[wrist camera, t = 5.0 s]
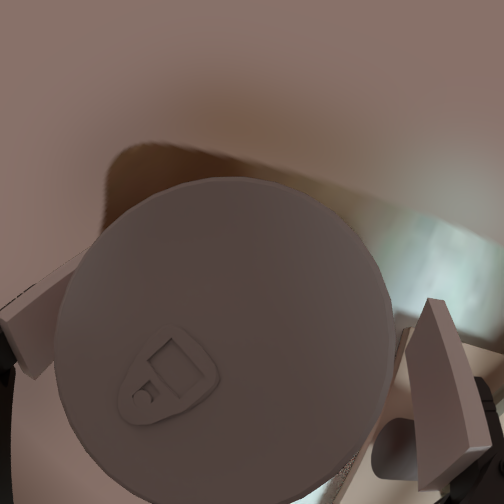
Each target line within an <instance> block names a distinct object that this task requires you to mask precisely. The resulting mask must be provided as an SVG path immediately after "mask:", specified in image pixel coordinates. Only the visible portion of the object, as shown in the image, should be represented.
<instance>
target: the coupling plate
mask: <svg viewBox="0 0 504 504" xmlns="http://www.w3.org/2000/svg"><path fill="white" fill-rule="evenodd" d="M414 329H415V328H413V327H409V328H406V329H403V333H402V337H401V340H400V343H399V347H398V350H397V353H396V357H395V360H394V370H393V377H392V381H391V384H390V387H389V391H388V394H387V397H386V400H385V403H384V406H383V409H382V412H381V414H380V416H379V418H378V420H377V422H376V423H375V425H374V427H373V429H372V430H371V432H370V434H369V435H368V437H367V439H366V441H365V442H364V444H363V445H362V447H361V448H360V450H359V453H358V455H357V457H356V459H355V461H354V463H353V465H352V467H351V469H350V471H349V473H348V475H347V477H346V479H345V481H344V483H343V485H342V487H341V489H340V490H339V492H338V494H337V496H336V498H335V499H334V501H333V503H332V504H434V503H435V502H436V501H438V500H439V499H440V498H442V497H443V496H445V495H446V494H447V493H449V492H450V483H449V484H448V485H446V486H445V487H444V488H442V489H441V490H440V491H432V492H418V467H417V448H416V435H415V423H414V414H413V405H412V396H411V389H410V382H409V375H408V368H407V362H406V356H405V349H406V347H407V345H408V343H409V340H410V338H411V336H412V334H413V332H414ZM461 343H462V342H461ZM462 345H463V348H464V351H465V353H466V356H467V359H468V362H469V364H470V367H471V370H472V373H473V376H477V377H482V378H483V379H484V381H485V382H486V384H487V385H488V386H489V388H490V390H491V393H492V396H493V402H494V403H495V406H496V409H497V410H496V412H497V413H498V416H499V420H500V423H501V427H502V431H503V434H504V355H503V354H500V353H496V352H493V351H489V350H486V349H482V348H479V347H476V346H472V345H469V344H466V343H462ZM439 504H440V503H439Z"/></svg>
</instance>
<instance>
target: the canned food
mask: <svg viewBox="0 0 504 504" xmlns="http://www.w3.org/2000/svg"><path fill="white" fill-rule="evenodd" d="M395 346H396V333H395V325H394V318H393V311H392V304H391V299H390V296H389V294H388V291H387V288H386V285H385V283H384V280H383V277H382V275H381V272H380V270H379V267H378V265H377V263H376V262H375V260H374V259H373V257H372V256H371V254H370V252H369V251H368V249H367V248H366V246H365V245H364V243H363V242H362V240H361V239H360V237H359V236H358V235H357V234H356V233H355V232H354V231H353V230H352V229H351V228H350V227H349V226H348V225H347V224H346V223H345V222H344V221H343V220H342V219H341V218H340V217H339V216H338V215H337V214H336V213H335V212H334V211H332V210H331V209H329V208H327V207H326V206H324V205H323V204H321V203H320V202H318V201H317V200H315V199H314V198H312V197H310V196H309V195H307V194H305V193H303V192H300V191H298V190H295V189H292V188H290V187H287V186H285V185H282V184H279V183H277V182H272V181H266V180H261V179H255V178H249V177H211V178H206V179H201V180H196V181H191V182H186V183H182V184H179V185H177V186H174V187H171V188H169V189H166V190H164V191H161V192H159V193H156V194H154V195H152V196H150V197H149V198H147V199H145V200H144V201H142V202H140V203H139V204H137V205H135V206H134V207H132V208H130V209H129V210H127V211H126V212H125V213H124V214H122V215H121V216H120V217H119V218H118V219H117V220H115V221H114V222H113V223H112V224H111V225H110V226H109V227H107V228H106V229H105V230H104V231H103V232H102V234H101V235H100V236H99V237H98V238H97V240H96V241H95V242H94V243H93V244H92V246H91V247H90V248H89V249H88V251H87V252H86V253H85V255H84V256H83V258H82V260H81V261H80V263H79V265H78V267H77V268H76V270H75V272H74V274H73V275H72V277H71V279H70V281H69V284H68V286H67V289H66V292H65V294H64V297H63V300H62V303H61V306H60V309H59V314H58V319H57V325H56V331H55V337H54V368H55V374H56V380H57V386H58V391H59V396H60V400H61V402H62V405H63V408H64V411H65V413H66V416H67V418H68V421H69V424H70V426H71V427H72V429H73V431H74V433H75V434H76V436H77V438H78V439H79V441H80V443H81V444H82V446H83V447H84V449H85V451H86V452H87V453H88V454H89V455H90V457H91V458H92V459H93V460H94V461H95V462H96V463H97V464H98V466H99V467H100V468H101V469H102V470H103V471H104V472H105V473H106V474H107V475H108V476H109V477H110V478H112V479H113V480H114V481H116V482H117V483H118V484H120V485H121V486H122V487H124V488H125V489H126V490H128V491H129V492H130V493H132V494H133V495H136V496H137V497H140V498H142V499H143V500H146V501H148V502H150V503H152V504H290V503H292V502H295V501H297V500H299V499H302V498H304V497H305V496H307V495H308V494H310V493H311V492H313V491H314V490H316V489H317V488H319V487H320V486H321V485H323V484H324V483H326V482H327V481H329V480H330V479H331V478H333V477H334V476H335V475H336V474H337V473H338V472H339V471H340V470H341V469H342V468H343V467H344V466H345V465H346V464H347V463H348V462H349V460H350V459H351V458H352V457H353V456H354V455H355V454H356V453H357V452H358V451H359V449H360V448H361V447H362V445H363V444H364V442H365V441H366V439H367V437H368V435H369V434H370V432H371V430H372V429H373V427H374V425H375V423H376V422H377V420H378V418H379V416H380V414H381V412H382V409H383V406H384V403H385V400H386V397H387V394H388V391H389V387H390V384H391V381H392V377H393V370H394V359H395Z"/></svg>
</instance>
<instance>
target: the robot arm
mask: <svg viewBox="0 0 504 504" xmlns="http://www.w3.org/2000/svg"><path fill="white" fill-rule="evenodd" d="M90 247H91V246H90ZM90 247H89V248H90ZM89 248H87V249H86V250H84V251H83V252H81V253H80V254H78V255H77V256H75V257H74V258H72V259H71V260H69V261H68V262H66V263H65V264H63V265H62V266H60V267H59V268H58V269H56V270H55V271H53V272H52V273H51V274H49V275H48V276H46V277H45V278H43V279H42V280H41V281H39V282H38V283H37V284H34V285H32V286H31V287H29V288H28V289H27V290H25V291H24V293H22V294H20V295H19V296H17V298H16V299H13V300H12V301H11V302H9V303H8V304H7V305H6V306H4V307H3V308H2V309H1V310H0V504H14V503H13V493H12V479H11V416H12V403H13V392H14V383H15V375H16V371H15V367H14V364H15V363H16V362H17V361H18V363H19V365H20V367H21V369H22V371H23V372H24V373H25V374H26V375H28V376H29V377H31V378H32V379H34V380H36V379H37V378H38V377H39V376H40V375H41V373H42V372H43V371H44V370H45V369H46V368H47V367H48V366H49V365H50V364H51V363H52V362H53V361H54V337H55V331H56V325H57V319H58V314H59V309H60V306H61V303H62V300H63V297H64V294H65V292H66V289H67V286H68V284H69V281H70V279H71V277H72V275H73V274H74V272H75V270H76V268H77V267H78V265H79V263H80V261H81V260H82V258H83V256H84V255H85V253H86V252H87V251H88V249H89ZM405 356H406V362H407V368H408V375H409V382H410V389H411V396H412V405H413V414H414V423H415V435H416V448H417V467H418V492H432V491H440V490H441V489H442V488H444V487H445V486H446V485H448V484H449V483H450V492H449V493H447V494H446V495H445V496H443V497H442V498H440V499H439V500H438V501H436V502H435V503H434V504H439V503H440V504H504V434H503V431H502V427H501V423H500V420H499V416H498V413H497V412H496V410H497V409H496V406H495V403H494V402H493V396H492V393H491V390H490V388H489V386H488V385H487V384H486V382H485V381H484V379H483V378H482V377H477V376H473V373H472V370H471V367H470V364H469V362H468V359H467V356H466V353H465V351H464V348H463V345H462V343H461V340H460V337H459V335H458V332H457V330H456V327H455V325H454V322H453V320H452V318H451V315H450V313H449V311H448V308H447V306H446V304H445V301H444V300H438V299H432V298H427V301H426V303H425V306H424V308H423V311H422V313H421V316H420V318H419V320H418V323H417V325H416V327H415V329H414V332H413V334H412V336H411V338H410V340H409V343H408V345H407V347H406V349H405Z"/></svg>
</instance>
